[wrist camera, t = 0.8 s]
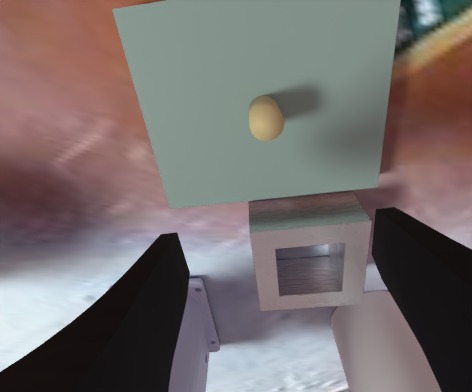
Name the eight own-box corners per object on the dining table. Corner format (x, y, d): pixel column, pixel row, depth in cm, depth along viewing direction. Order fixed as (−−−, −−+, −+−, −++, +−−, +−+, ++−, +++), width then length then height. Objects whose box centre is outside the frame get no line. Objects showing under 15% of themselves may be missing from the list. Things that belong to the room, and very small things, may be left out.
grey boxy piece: (346, 267, 23) (361, 304, 20) (258, 275, 24) (260, 311, 21) (352, 191, 20) (371, 221, 17) (248, 201, 20) (249, 232, 17)
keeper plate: (368, 176, 19) (396, 209, 16) (174, 197, 20) (161, 232, 17) (390, -34, 14) (439, -52, 10) (123, 10, 15) (87, 6, 11)
